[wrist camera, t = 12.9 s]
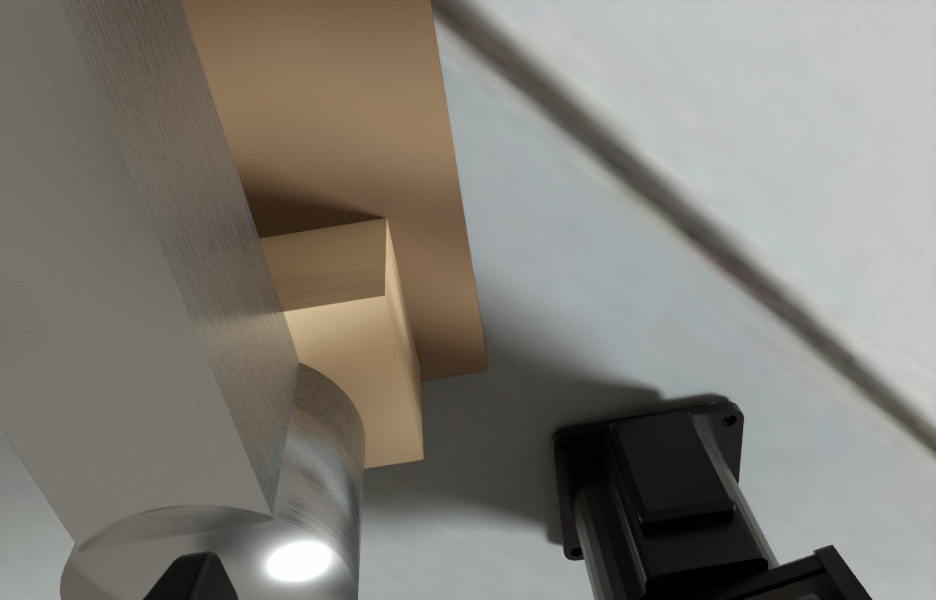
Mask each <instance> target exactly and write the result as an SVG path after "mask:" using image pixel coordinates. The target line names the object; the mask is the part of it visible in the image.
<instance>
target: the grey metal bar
mask: <svg viewBox="0 0 936 600" xmlns="http://www.w3.org/2000/svg"><path fill="white" fill-rule="evenodd" d="M0 427H1V429H2V431H3V432H4V434H5V435H6V437H7V438H8V440H9V441H10V443H11V444H12V446H13V448H14V449H15V451H16V452H17V454H18V455H19V457H20V458H21V460H22V461H23V463H24V465H25V466H26V468H27V469H28V471H29V472H30V474H31V475H32V477H33V478H34V480H35V482H36V483H37V485H38V486H39V488H40V489H41V491H42V492H43V494H44V495H45V497H46V499H47V500H48V502H49V503H50V505H51V506H52V508H53V509H54V511H55V513H56V514H57V516H58V517H59V519H60V520H61V522H62V523H63V525H64V526H65V528H66V530H67V531H68V533H69V534H70V536H71V537H72V539H73V540H74V542H75V545H74V547H73V549H72V551H71V554H70V556H69V558H68V560H67V563H66V565H65V567H64V571H63V574H62V577H61V584H60V595H61V600H142V599H143V598H144V597H145V596H146V594H147V593H148V592H149V591H150V589H151V588H152V587H153V586H154V584H155V583H156V582H157V581H158V580H159V578H160V577H161V576H162V575H163V573H164V572H165V571H166V570H167V568H168V567H169V566H170V565H171V563H172V562H173V561H174V560H175V559H177V558H178V557H179V556H182V555H185V554H191V553H198V552H204V551H213V552H215V553H216V554H217V555H218V556H219V558H220V560H221V562H222V564H223V566H224V568H225V570H226V572H227V574H228V576H229V578H230V580H231V582H232V584H233V586H234V588H235V590H236V592H237V595H238V599H239V600H358V584H359V564H360V544H361V524H362V504H363V484H364V464H365V431H364V426H363V423H362V420H361V417H360V415H359V412H358V411H357V409H356V407H355V405H354V404H353V402H352V401H351V400H350V398H349V397H348V396H347V395H346V393H345V392H344V391H343V390H342V389H341V388H340V387H339V386H338V385H337V384H336V383H334V382H333V381H332V380H330V379H329V378H328V377H326V376H325V375H324V374H322V373H320V372H319V371H317V370H315V369H313V368H312V367H310V366H307V365H305V364H303V363H301V362H300V361H299V358H298V355H297V352H296V349H295V346H294V343H293V339H292V336H291V333H290V330H289V327H288V324H287V321H286V318H285V315H284V312H283V309H282V306H281V303H280V300H279V297H278V294H277V291H276V288H275V285H274V282H273V279H272V276H271V273H270V270H269V267H268V264H267V261H266V258H265V254H264V251H263V248H262V245H261V242H260V239H259V236H258V233H257V230H256V227H255V224H254V221H253V218H252V215H251V212H250V209H249V206H248V203H247V200H246V197H245V194H244V191H243V188H242V185H241V182H240V179H239V176H238V173H237V170H236V166H235V163H234V160H233V157H232V154H231V151H230V148H229V145H228V142H227V139H226V136H225V133H224V130H223V127H222V124H221V121H220V118H219V115H218V112H217V109H216V106H215V103H214V100H213V97H212V94H211V91H210V88H209V85H208V82H207V78H206V75H205V72H204V69H203V66H202V63H201V60H200V57H199V54H198V51H197V48H196V45H195V42H194V39H193V36H192V33H191V30H190V27H189V24H188V21H187V18H186V15H185V12H184V9H183V6H182V3H181V0H0Z"/></svg>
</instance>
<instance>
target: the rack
mask: <svg viewBox="0 0 936 600" xmlns="http://www.w3.org/2000/svg"><path fill="white" fill-rule="evenodd" d="M181 3H182V6H183V9H184V12H185V15H186V18H187V21H188V24H189V27H190V30H191V33H192V36H193V39H194V42H195V45H196V48H197V51H198V54H199V57H200V60H201V63H202V66H203V69H204V72H205V75H206V78H207V82H208V85H209V88H210V91H211V94H212V97H213V100H214V103H215V106H216V109H217V112H218V115H219V118H220V121H221V124H222V127H223V130H224V133H225V136H226V139H227V142H228V145H229V148H230V151H231V154H232V157H233V160H234V163H235V166H236V170H237V173H238V176H239V179H240V182H241V185H242V188H243V191H244V194H245V197H246V200H247V203H248V206H249V209H250V212H251V215H252V218H253V221H254V224H255V227H256V230H257V233H258V236H259V239H260V242H261V245H262V248H263V251H264V254H265V258H266V261H267V264H268V267H269V270H270V273H271V276H272V279H273V282H274V285H275V288H276V291H277V294H278V297H279V300H280V303H281V306H282V309H283V312H284V315H285V318H286V321H287V324H288V327H289V330H290V333H291V336H292V339H293V343H294V346H295V349H296V352H297V355H298V358H299V361H300V362H301V363H303V364H305V365H307V366H310V367H312V368H313V369H315V370H317V371H319V372H320V373H322V374H324V375H325V376H326V377H328V378H329V379H330V380H332V381H333V382H334V383H336V384H337V385H338V386H339V387H340V388H341V389H342V390H343V391H344V392H345V393H346V395H347V396H348V397H349V398H350V400H351V401H352V402H353V404H354V405H355V407H356V409H357V411H358V412H359V415H360V417H361V420H362V423H363V426H364V431H365V464H364V469H367V468H374V467H380V466H386V465H393V464H399V463H405V462H411V461H418V460H424V452H423V429H422V406H421V382H420V381H424V380H430V379H437V378H443V377H449V376H455V375H462V374H468V373H474V372H480V371H487V370H488V364H487V357H486V351H485V345H484V338H483V332H482V325H481V319H480V313H479V306H478V300H477V294H476V287H475V281H474V275H473V268H472V262H471V255H470V249H469V243H468V236H467V230H466V224H465V217H464V211H463V205H462V198H461V192H460V185H459V179H458V173H457V166H456V160H455V154H454V147H453V141H452V135H451V128H450V122H449V115H448V109H447V103H446V96H445V90H444V84H443V77H442V71H441V65H440V58H439V52H438V45H437V39H436V33H435V26H434V20H433V14H432V7H431V1H430V0H181Z"/></svg>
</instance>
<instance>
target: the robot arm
mask: <svg viewBox="0 0 936 600" xmlns="http://www.w3.org/2000/svg"><path fill="white" fill-rule="evenodd" d="M729 415H730V416H729ZM726 416H729V417H728V418H725V417H726ZM724 418H725V419H724ZM743 424H744V416H743V413H742V412H741V410H740V408H739V407H738V406H737V404H735V403H733V402H722V403H716V404H710V405H704V406H697V407H691V408H685V409H679V410H672V411H666V412H660V413H654V414H647V415H641V416H635V417H628V418H622V419H616V420H610V421H603V422H597V423H591V424H585V425H578V426H572V427H566V428H562V429H559V430H558V431H556V432H555V433H554V434H553V436H552V439H551V443H552V453H553V462H554V472H555V481H556V491H557V500H558V510H559V519H560V529H561V538H562V546H563V551H564V555H565V557H566V558H568V559H569V560H573V561H574V560H585V564H586V568H587V572H588V576H589V580H590V584H591V587H592V591H593V595H594V599H595V600H872V598H871V597H870V596H869V594H868V593H867V592H866V590H865V589H864V587H863V586H862V585H861V583H860V582H859V581H858V579H857V578H856V576H855V575H854V574H853V572H852V571H851V570H850V568H849V567H848V565H847V564H846V563H845V561H844V560H843V559H842V557H841V556H840V555H839V553H838V552H837V550H836V549H835V548H834V546H833V545H829V546H826V547H823V548H820V549H817V550H814V551H813V553H814V554H813V555H810V556H807V557H804V558H801V559H798V560H795V561H792V562H789V563H786V564H783V565H779V563H778V561H777V559H776V558H775V556H774V554H773V552H772V550H771V548H770V546H769V544H768V542H767V540H766V538H765V536H764V534H763V532H762V530H761V528H760V527H759V525H758V523H757V521H756V519H755V517H754V515H753V513H752V511H751V509H750V507H749V505H748V503H747V501H746V499H745V497H744V496H743V494H742V492H741V490H740V488H739V486H738V482H739V471H740V459H741V447H742V435H743ZM566 441H571V442H570V443H567V444H563V443H564V442H566ZM142 600H239V599H238V595H237V592H236V590H235V588H234V586H233V584H232V582H231V580H230V578H229V576H228V574H227V572H226V570H225V568H224V566H223V564H222V562H221V560H220V558H219V556H218V555H217V554H216V553H215V552H213V551H204V552H198V553H191V554H185V555H182V556H179V557H178V558H177V559H175V560H174V561H173V562H172V563H171V565H170V566H169V567H168V568H167V570H166V571H165V572H164V573H163V575H162V576H161V577H160V578H159V580H158V581H157V582H156V583H155V584H154V586H153V587H152V588H151V589H150V591H149V592H148V593H147V594H146V596H145V597H144V598H143V599H142Z"/></svg>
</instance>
